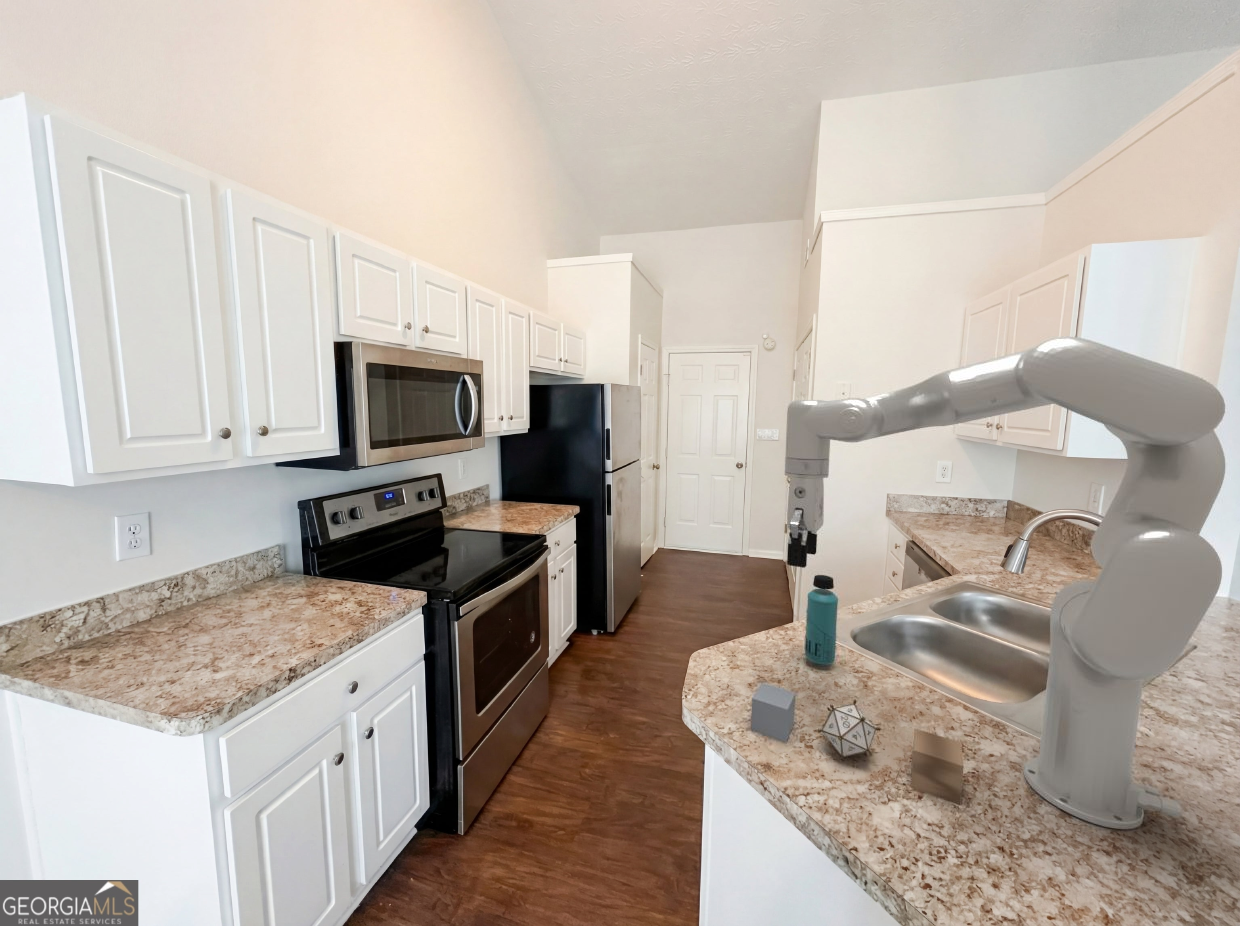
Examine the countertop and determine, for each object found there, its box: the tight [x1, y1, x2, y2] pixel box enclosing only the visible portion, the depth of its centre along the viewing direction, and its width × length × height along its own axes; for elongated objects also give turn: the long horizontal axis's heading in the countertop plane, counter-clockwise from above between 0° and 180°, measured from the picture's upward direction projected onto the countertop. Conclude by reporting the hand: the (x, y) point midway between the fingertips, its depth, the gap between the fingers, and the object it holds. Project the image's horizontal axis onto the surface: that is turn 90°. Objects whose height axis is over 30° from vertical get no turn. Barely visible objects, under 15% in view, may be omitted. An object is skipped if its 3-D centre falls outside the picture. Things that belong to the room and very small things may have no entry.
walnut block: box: [910, 727, 965, 806], centre depth 72 cm, size 6×6×6 cm
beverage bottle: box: [803, 574, 839, 665], centre depth 106 cm, size 6×7×20 cm
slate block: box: [750, 682, 796, 744], centre depth 85 cm, size 6×6×6 cm
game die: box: [816, 698, 882, 763], centre depth 78 cm, size 9×8×10 cm
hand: (802, 559), depth 90 cm, fingers open, 9 cm apart
